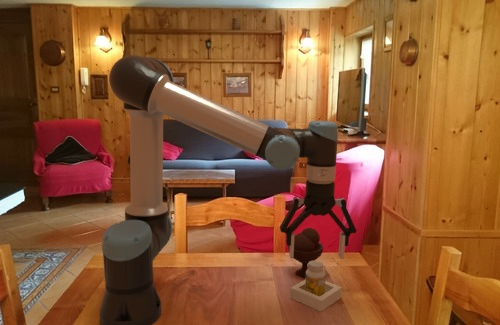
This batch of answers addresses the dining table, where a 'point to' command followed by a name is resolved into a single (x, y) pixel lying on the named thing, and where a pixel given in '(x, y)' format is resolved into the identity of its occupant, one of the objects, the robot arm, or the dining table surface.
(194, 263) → the dining table surface
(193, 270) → the dining table surface
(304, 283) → the holder
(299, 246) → the ice cream bowl
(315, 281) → the supplement bottle
